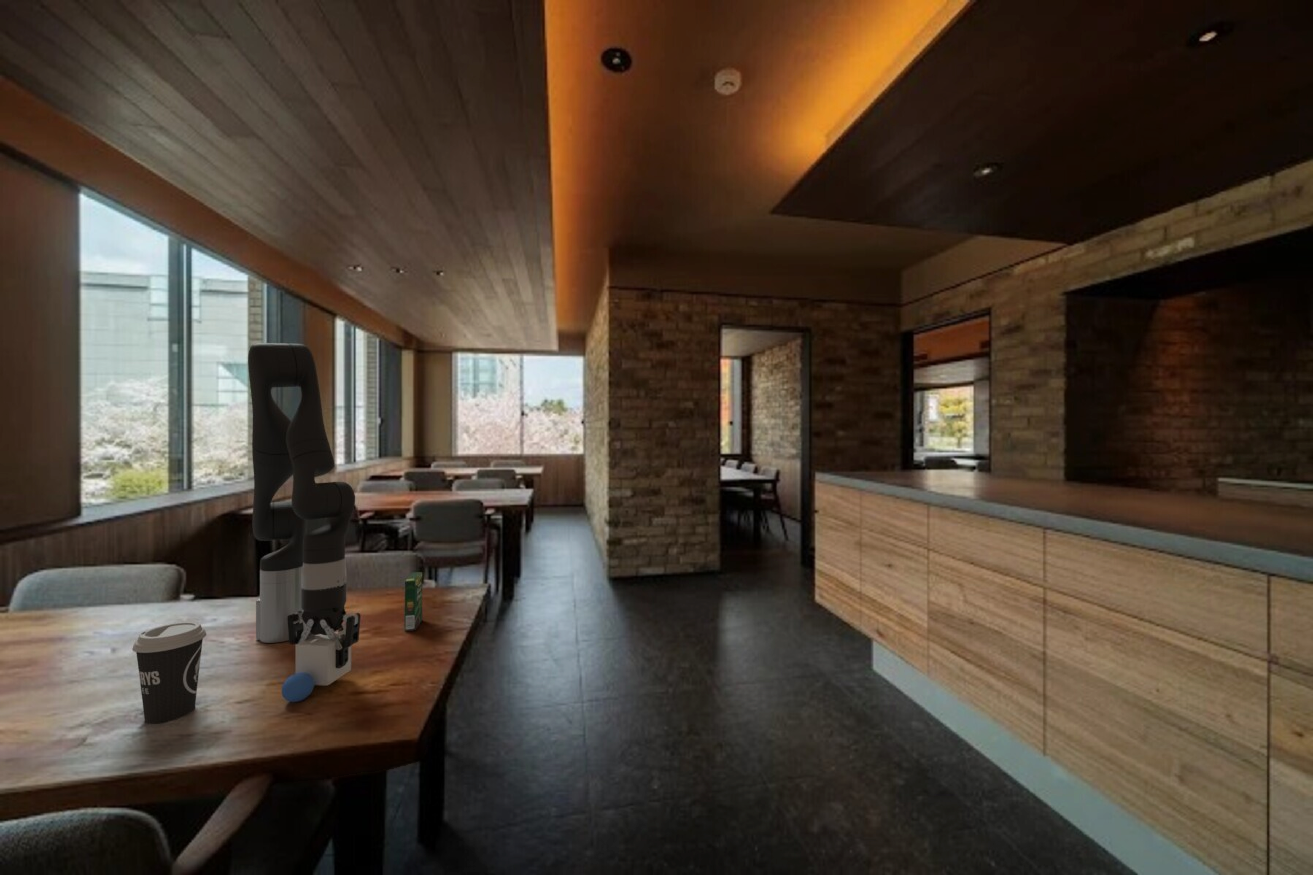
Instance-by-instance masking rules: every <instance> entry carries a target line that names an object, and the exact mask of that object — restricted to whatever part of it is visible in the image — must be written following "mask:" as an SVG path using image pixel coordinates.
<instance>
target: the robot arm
mask: <svg viewBox="0 0 1313 875" xmlns="http://www.w3.org/2000/svg"><path fill="white" fill-rule="evenodd" d="M247 355H248V356H247V364H248V365H247V366H248V379H249V385H250V386H249V387H250V396H251V408H252V431H251V432H252V433H251V435H252V436H251V437H252V438H251V450H252V453H251V454H252V455H251V456H252V457H251V458H252V467H253V484H254V485H253V487H254V489H253V502H252V503H253V504H252V519H251V520H252V521H251V525H252V533H253V537H254V538H255V539H256V540H257V541H260V542H261V541H264V542H265V541H268V542H269V541H279V540H288V539H289V540H290V541H289V542H288V543H287V544H286V545H285V546H284V547H282V548H280V549H278V550H275V551H273V552H270V553H267V554H266V555H264V556H262V557H261V558H260V561H259V598H258V599H257V600H256V601H255V640H259V641H260V642H261V643H267V644H268V643H269V644H273V643H274V644H275V643H281V642H286V641H288V642H289V643H288V644H290V645H291V646H293V645H294V646H296V644H298V643H300V642H302V641H307V640H308V639H309V638H311V637H314V636H316V635H318V634H322V635H327V636H328V637H329V639H330V640H331V641H333V642H335V646H336V648H337V650H336V668H341V667H343V666H345V665H346V663H347V662H348V647H350V646H351V647H352V646H353V645H354V644H357V643H358V642H359V641H360V627H361V613H359V612H356V613H353V614H352V613H347V611H346V609H345V605H346V603H347V564H346V535H347V532H348V529H349V525H350V522H351V518H352V515H353V512H354V509H355V504H356V494H355V491H354V489H353V487H352V486H351V485H350V484H349V483H347V482H344V481H327V482H316V480H315V478H316V477H321V476H323V475H326V474H328V473H330V472H331V471H332V470H333V469H334V468H335V459H334V457H333V453H332V449H331V444H330V442H329V439H328V436H327V433H326V427H325V423H324V416H323V408H322V399H321V392H320V384H319V378H318V372H317V366H316V361H315V359H314V355H313V353H312V351H311V349H310V347H308V346H307V345H305V344H302V343H292V342H291V343H286V342H285V343H284V342H282V343H281V342H280V343H279V342H276V343H275V342H263V343H262V342H259V343H254V344H252V345H250V347H249V350H248V354H247ZM293 387H294V388H295V387H299V388H300V393H301V398H300V402H299V405H298V407H297V409H296V411H295V414H294V415H293V417H292V419H290V418H289V417H288V416H287V415H286V414H285V413H284V412H283V411H282V409H281V408H280V407H279V405H278V404H277V403H276V401H275V400H274V398H273V395H272V389H273V388H293ZM291 477H292V479H293V480H292V493H291V501H290V500H289V501H274V502H272V501H273V498H274V497H275V495H276V493H277V492H278V491H279V489H280V488H282V487H283V485H284V484H285V483H286V482H287V481H288V480H289V479H290V478H291ZM325 518H326V520H325V522H324V523H323V525H322V526H321V527H319V528H317V529H316V528H315V529H314V530H311V531H309V532H307V531H308V520H309V521H310V520H311V521H312V520H313V521H314V520H319V519H325ZM335 632H338V633H335ZM340 638H342V642H341V640H340Z"/></svg>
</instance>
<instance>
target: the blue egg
mask: <svg viewBox="0 0 1313 875" xmlns="http://www.w3.org/2000/svg"><path fill="white" fill-rule="evenodd" d="M314 687H315V685H314V680H313V678H312V676H311V675H309V674H307V673H303V672H301V673H296V672H295V673H294V674H292V675H290V676H289V677H288V678H287V679H286V680H285V681H284V682H283V683H282V687H281V696H282V697H283V699H284V700H285V701H287V702H290V703H297V702H301V701H303V700H305V699H306V698H308V697H309V696H310V695H311V694H312V691H313V689H314Z"/></svg>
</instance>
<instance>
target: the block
mask: <svg viewBox="0 0 1313 875" xmlns="http://www.w3.org/2000/svg"><path fill="white" fill-rule="evenodd" d="M338 632H339V631H335V633H338ZM340 640H341V642H342V638H340ZM336 650H337V648H336V646H335V642H333V641H331V640H330V639H329V637H328V636H327V635H322V634H318V635H316V636H314V637H311V638H309V639H308V640H307V641H302V642H300V643H298V644H296V645H295V674H296V673H301V672H303V673H307V674H309V675H311V676H312V678H313V680H314V686H327V687H328V686H329V685H331V684H332V683H334V682H335V681H337V680H338V679H339V678H341V677H343V676H344V675H346V674H347V673H349V672H350V671H351V670H352V645H351V646H350V647H348V662H347V663H346V665H345V666H343V667H341V668H336Z"/></svg>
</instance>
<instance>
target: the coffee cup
mask: <svg viewBox="0 0 1313 875" xmlns="http://www.w3.org/2000/svg"><path fill="white" fill-rule="evenodd" d="M206 636H207V632H206V630H205V628H204V627H202V625H201V623H200V622H199V621H179V622H173V623H168V624H162V625H158V626H155V627H152V628H149V629H146V630H144V631H142V632H141V633H140V634H139V635H138V637H137V639H136V640H135V642H134V643H133V646H132V648H131V650H132V652H135V654H136V658H137V659H136V660H137V667H138V676H139V683H140V692H141V700H142V709H143V717H144V722H145V723H147V724H160V723H166V722H169V721H173V720H176V719H180V718H182V717H185V716H186V715H188V714H190V713H191V712H192V711H194V709H195V708H196V701H197V692H198V684H199V674H200V673H199V672H200V668H201V667H200V665H201V658H202V657H201V656H202V646H203V642H204V641H203V640H204V638H205V637H206Z"/></svg>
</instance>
